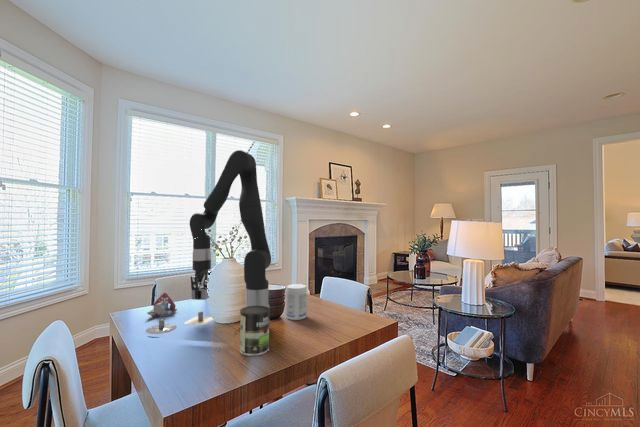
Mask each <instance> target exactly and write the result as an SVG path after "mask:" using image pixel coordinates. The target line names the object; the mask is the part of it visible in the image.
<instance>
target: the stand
mask: <svg viewBox="0 0 640 427" xmlns="http://www.w3.org/2000/svg"><path fill="white" fill-rule="evenodd" d="M197 314H198V315H195V316H193V317H191V318H190V319H189V320H186V321H185V322H184V323H183V324H184V325H185V324H186V325H197V326H199V325H200V326H206V325H208V324H210V323H211V322H213V321H214V320H215V319H213V318H212V317H213V316H204V311H198V313H197Z"/></svg>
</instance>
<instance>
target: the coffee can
mask: <svg viewBox="0 0 640 427" xmlns="http://www.w3.org/2000/svg"><path fill="white" fill-rule="evenodd" d="M239 312H240V325H239V326H240V328H239V329H240V331H239V333H240V334H239V353H240V354H241V355H244V356H247V357H257V356H262V355H264V354H266V353H268V352H269V351H270V316H271V315H270V313H271V309H270V308H268V307H265V306H249V307H246V306H245V307H242V308H241V309H240V311H239ZM267 351H268V352H267ZM261 354H262V355H261Z"/></svg>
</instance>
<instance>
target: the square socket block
mask: <svg viewBox="0 0 640 427" xmlns="http://www.w3.org/2000/svg"><path fill="white" fill-rule="evenodd" d="M198 288H199V286H198ZM207 289H208V288H207V287H203V286H201V290H200V291H201V299H199V300H201V301H202V300H203V301H206V300H207V299H209V298H210V297H209V296H208V293H207ZM208 291H209V290H208ZM191 300H196V299H195V291H194V290H192V289H191ZM199 300H198V301H199ZM196 301H197V300H196Z"/></svg>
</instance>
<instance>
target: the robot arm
mask: <svg viewBox="0 0 640 427" xmlns="http://www.w3.org/2000/svg"><path fill="white" fill-rule="evenodd" d="M257 174H258V173H257V163H256V159H255V158H254V156H253V155H252V154H250V153H248V152H246V151H244V150H239V149H238V150H235V151H233V152H232V153H230V156H229V157H228V159H227V161H226V164H225V166H224V168H223V169H222V172H221V173H220V176H219V179H218V181H217V183H216V184H215V186H214V187H213V189H212V191H211V192H210V193H209V195H208V197H207V198H206V200H205V201H204V202H203V208H204V211H203V212H201V213H200V212H195V213H193V214H192V215H191V217H190V219H189V228H190V233H191V237H192V240H193V245H192V270H193V271H195V273H194V275H191V276H190V285H191V286H190V287H191V291H192V290H194V291H195V299H196V301H197V300H198V301H199V299H201V291H200V290H201V287H207V283H208V282H209V278H208V275H210V273H211V272H212V273H213V271H212V270H211V269H212V252H211V251H212V250H211V236H210V235H207V233H206V230H207V229H210V228H211V227H212V226H213V225H214V224H215V221H216V219H217V218H218V215H219V212H220V210H221V208H222V207H223V206H224V204H225V203H226V201H227V199H228V197H229V194H230V192H231V188H232V185H233V183H234V181H235V180H236V179H237V177H238V176H239V178H240V184H241V191H240V195H239V200H238V201H239V202H238V207H239V208H238V209H239V214H240V220H241V223H242V225H243V227H244V229H245V231H246V234H247V236H248V237H249V241H250V248H251V249H250V251H249V252H247V253H246V254H245V257H244V261H243V273H244V274H243V278H244V283H245V307H249V306H265V307H268V308H270V306H271V305H270V304H269V280H268V279H267V278H266V269H268V268H269V267H270V266H271V263H272V255H271V251H270V247H269V244H268V240H267V235H266V228H265V222H264V214H263V208H262V203H261V202H262V201H261V198H260V191H259V186H258V177H257V176H258V175H257ZM201 229H202V230H201ZM197 237H198V238H197ZM194 238H196V239H194ZM210 270H211V272H210ZM209 272H210V273H209ZM207 281H208V282H207ZM198 287H199V288H198Z"/></svg>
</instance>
